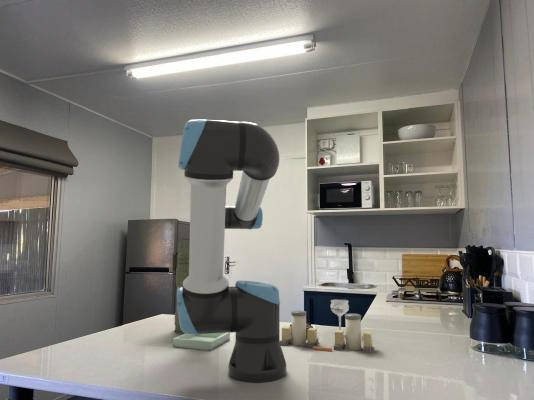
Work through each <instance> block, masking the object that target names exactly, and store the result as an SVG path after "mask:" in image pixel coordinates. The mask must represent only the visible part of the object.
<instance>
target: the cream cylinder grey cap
mask: <svg viewBox="0 0 534 400" xmlns="http://www.w3.org/2000/svg"><path fill="white" fill-rule="evenodd" d="M290 314H291V336H292V341H291V344H292V345H293V346H306V343H307V311H305V310H299V309H298V310H292V311H291V312H290Z"/></svg>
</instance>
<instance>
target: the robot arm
mask: <svg viewBox="0 0 534 400" xmlns="http://www.w3.org/2000/svg"><path fill="white" fill-rule="evenodd" d="M182 133H183V134H182V138H181V144H180V145H181V146H180V151H179V159H178V169H180V170H182V171H183V170H184V176H183V177H184V178H185V179H186V180H187V181H188V183H190V203H189V205H190V207H189V208H190V209H189V210H190V211H189V239H190V253H189V276H188V277H187V278H186V279H185V280H184V281H183V287H181V288H178V289H177V288H176V303H177V306H178V317H179V324H180V328H181V330H182V331H183V332H184V333H183V334H185V333H186V334H198V335H200V334H208V333H230V334H231V333H235V340H234V341H235V342H234V346H233V349H232V353H231V356H230V358H229V361H228V375H229V376H230V377H231V378H233V379H236V380H239V381H243V382H251V383H260V382H261V383H263V382H271V381H276V380H279V379H281V378H283V377H284V376H285V375H287V361H286V359H285V355H284V352H283V349H282V345H280V341H281V339H280V333H281V332H280V326H281V325H280V321H281V320H280V305H281V301H280V300H281V299H280V290H279V289H278V287H277V286H275V285H273V284H270V283H266V282H261V281H252V280H237V281H236V282H235V286H229V284H230V283H229V282H230V281H229V279H227V278H226V276H224V258H225V255H224V254H225V235H226V234H225V233H226V231H225V230H257V229H260V228H261V227H262V225H263V217H264V216H263V209H262V207H261V205H262V202H263V198H264V196H265V194H266V190H267V187H268V185H269V182H270V179H273V177H275V175H276V173H277V171H278V168H279V165H280V152H279V148H278V145H277V143H276V141H275V140H274V137H272V135H271V134H270V133H269V132H268V131H267V130H266V129H264V128H263V127H261V126H260V125H258V124H257V123H253V122H250V121H249V122H248V121H229V120H217V119H216V120H214V119H206V118H205V119H190V120H188V121H186V122H185V124H184V128H183V131H182ZM234 171H235V172H236V171H238V172H241V171H242V174H241V177H240V178H241V179H240V183H239V188H238V191H237V196H236V200H235V205H226V204H227V203H226V202H227V185H228V184H229V183H230V182H231V181H232V180H233V179H234Z"/></svg>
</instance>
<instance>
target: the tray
mask: <svg viewBox="0 0 534 400" xmlns="http://www.w3.org/2000/svg"><path fill="white" fill-rule="evenodd" d="M230 340H231V332H230V333H208V334H200V335H198V334H186V333H182V334H180V335H178V336H175V337H173V338H172V347H173V348H184V349H196V350H205V351H212V350H213V351H214V349H217V348H218V347H221V346H222V345H223V344H225V343H227V342H228V341H230Z"/></svg>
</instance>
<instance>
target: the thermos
mask: <svg viewBox="0 0 534 400" xmlns="http://www.w3.org/2000/svg"><path fill="white" fill-rule="evenodd" d="M177 246H178V247H177V250H175V251H174V252H173V253H172V277H174V278H175V285H176V290H177V289H178V288H181V287H183V281H184V280H185V279H186V278H187V277H188V276H189V253H190V238H182V239H179V243H178V245H177ZM177 259H178V261H177ZM175 303H176V305H175V306H176V308H175V313H174V332H175V333H178V334H179V333H181V334H185V333H184V332H183V331H182V330H181V328H180V324H179V317H178V306H177V302H175Z"/></svg>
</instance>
